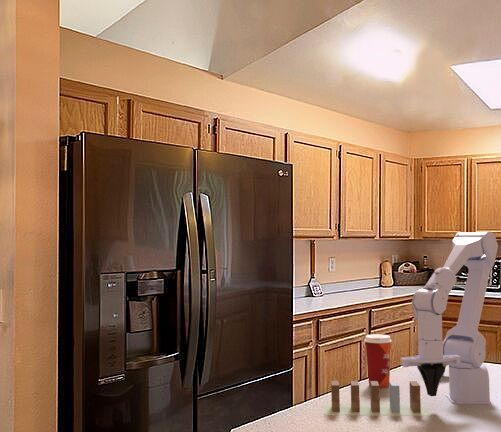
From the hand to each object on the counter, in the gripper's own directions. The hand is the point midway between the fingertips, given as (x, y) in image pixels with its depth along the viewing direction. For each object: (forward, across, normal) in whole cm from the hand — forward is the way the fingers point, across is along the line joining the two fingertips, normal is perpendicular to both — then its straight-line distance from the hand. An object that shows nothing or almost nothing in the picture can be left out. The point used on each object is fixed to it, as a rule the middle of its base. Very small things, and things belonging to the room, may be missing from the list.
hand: (431, 395), depth 148 cm
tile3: (+4, +13, -4) cm, 14 cm away
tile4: (+4, +18, -5) cm, 19 cm away
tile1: (+4, +4, -1) cm, 5 cm away
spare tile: (+4, +9, -2) cm, 10 cm away
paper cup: (+4, +3, -27) cm, 27 cm away
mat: (+4, +13, -4) cm, 14 cm away
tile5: (+4, +22, -6) cm, 23 cm away
